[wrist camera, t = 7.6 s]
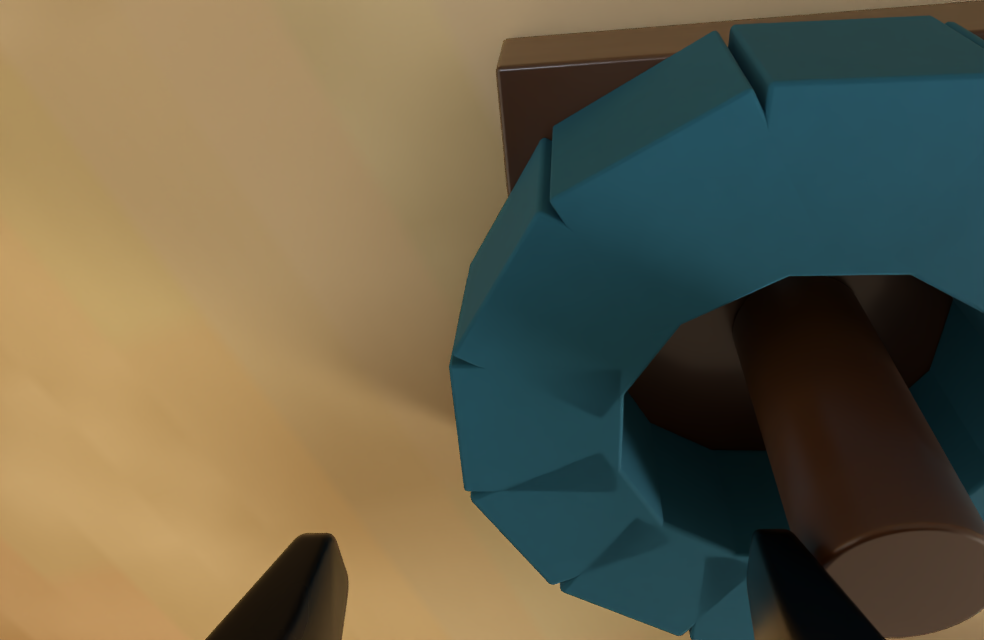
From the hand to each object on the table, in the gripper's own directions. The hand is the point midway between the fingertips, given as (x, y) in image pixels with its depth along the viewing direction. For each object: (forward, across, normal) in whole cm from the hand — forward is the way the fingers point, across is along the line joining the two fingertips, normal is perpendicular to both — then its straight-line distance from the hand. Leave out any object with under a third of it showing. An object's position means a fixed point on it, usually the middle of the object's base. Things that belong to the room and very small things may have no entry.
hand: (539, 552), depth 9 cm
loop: (+4, -4, 0) cm, 6 cm away
